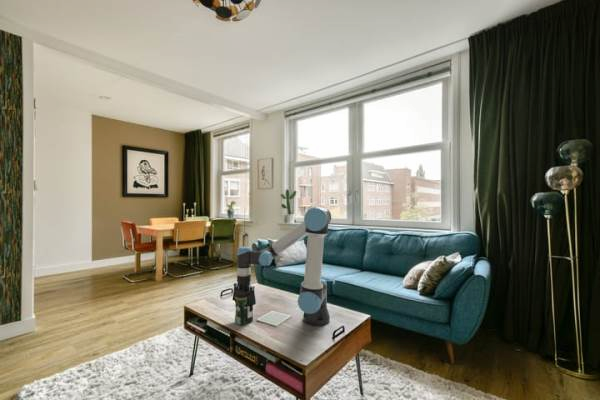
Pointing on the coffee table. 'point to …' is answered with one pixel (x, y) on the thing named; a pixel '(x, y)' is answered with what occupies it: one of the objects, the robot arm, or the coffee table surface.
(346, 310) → the coffee table surface
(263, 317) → the plate
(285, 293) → the coffee table surface
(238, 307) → the coffee jar
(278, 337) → the coffee table surface
